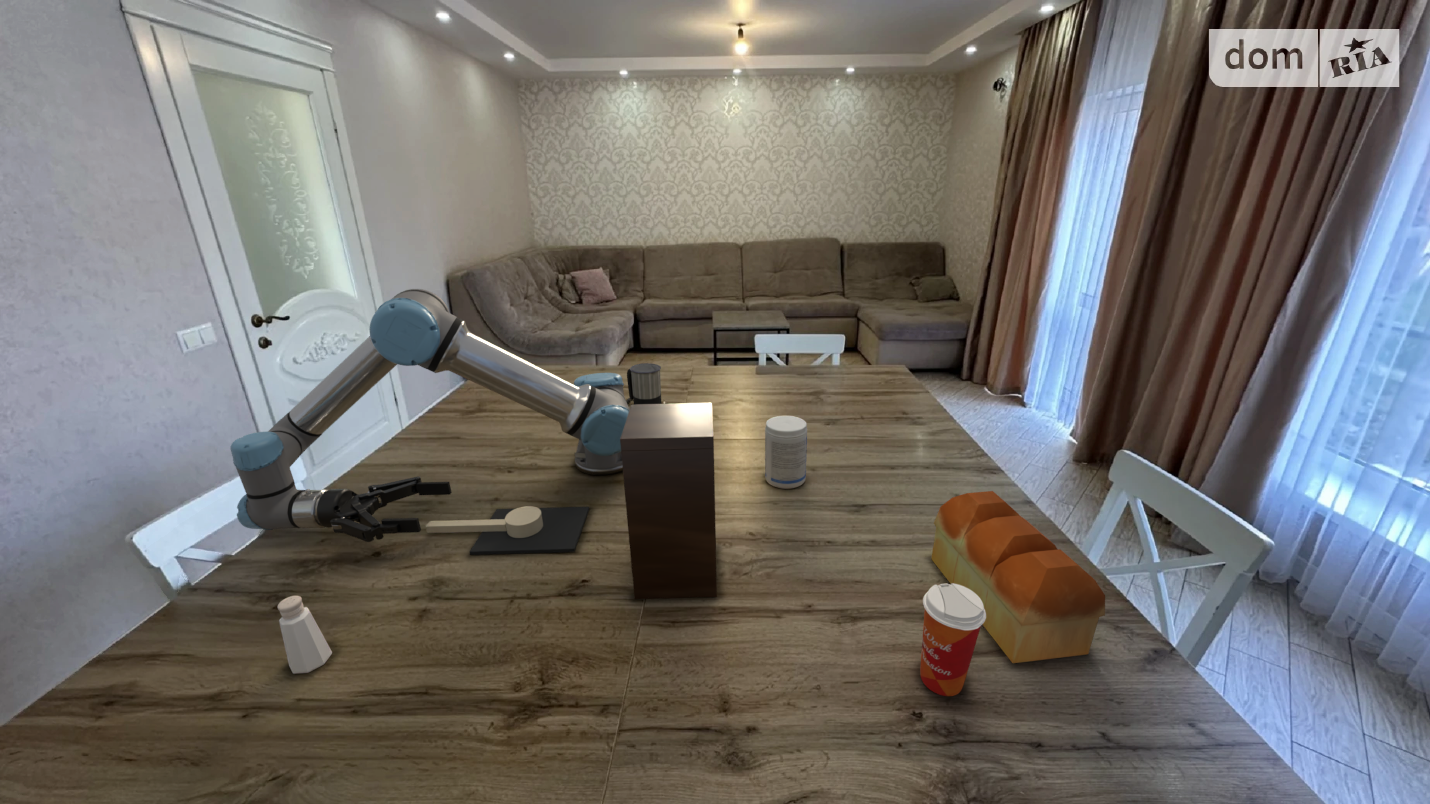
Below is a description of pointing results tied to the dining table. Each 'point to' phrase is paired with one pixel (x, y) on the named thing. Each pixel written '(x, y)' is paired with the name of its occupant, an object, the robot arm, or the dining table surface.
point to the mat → (553, 537)
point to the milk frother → (644, 383)
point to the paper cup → (949, 636)
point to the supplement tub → (785, 451)
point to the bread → (1017, 579)
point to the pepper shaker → (301, 637)
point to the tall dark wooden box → (670, 499)
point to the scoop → (495, 524)
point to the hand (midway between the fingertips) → (435, 505)
